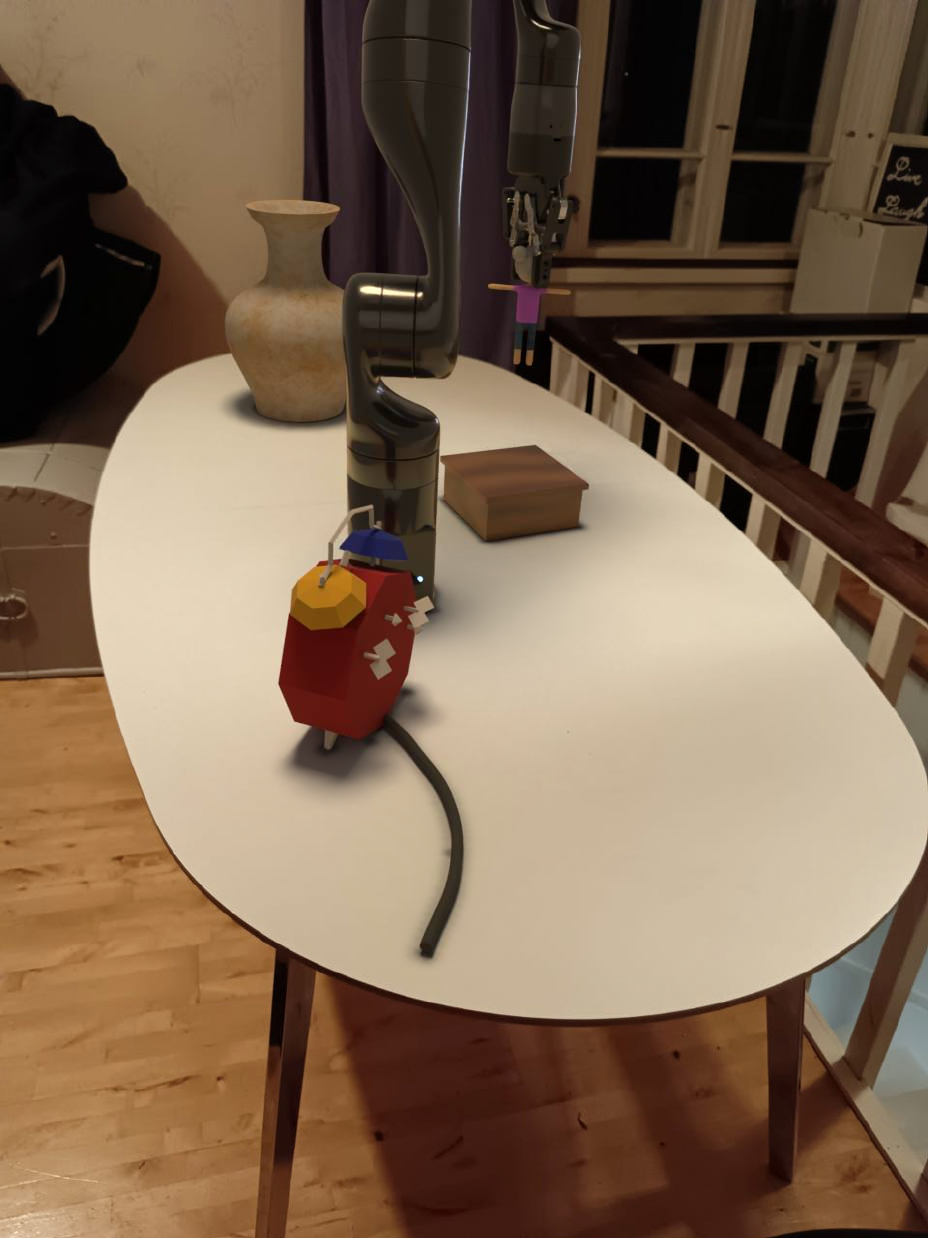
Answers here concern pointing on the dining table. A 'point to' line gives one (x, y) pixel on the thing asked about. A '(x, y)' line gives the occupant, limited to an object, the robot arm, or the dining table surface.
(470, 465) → the wooden stand
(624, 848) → the dining table surface
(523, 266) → the toy
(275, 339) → the vase
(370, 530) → the alarm clock
